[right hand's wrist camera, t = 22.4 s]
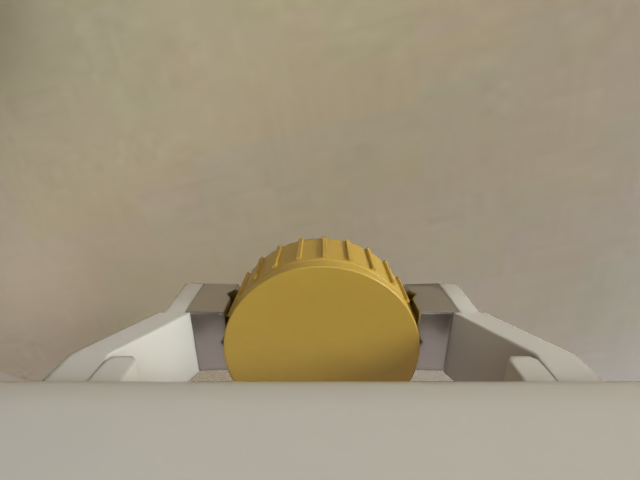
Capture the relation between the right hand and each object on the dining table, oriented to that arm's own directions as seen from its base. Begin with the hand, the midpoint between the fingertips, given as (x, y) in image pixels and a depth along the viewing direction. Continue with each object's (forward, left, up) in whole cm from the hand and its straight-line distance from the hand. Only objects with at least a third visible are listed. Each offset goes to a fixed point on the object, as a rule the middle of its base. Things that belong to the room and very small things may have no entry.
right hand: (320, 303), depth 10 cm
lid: (0, 0, +2) cm, 2 cm away
